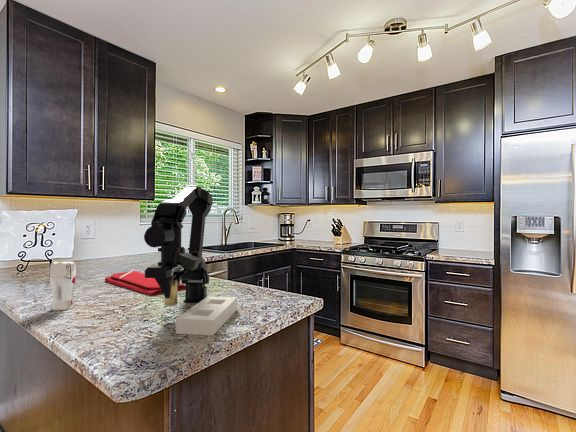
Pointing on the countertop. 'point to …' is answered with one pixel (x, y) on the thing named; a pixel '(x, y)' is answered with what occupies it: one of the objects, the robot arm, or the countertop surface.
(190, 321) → the block
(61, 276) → the white carton
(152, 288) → the dish drying mat
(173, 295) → the cylinder
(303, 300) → the countertop surface
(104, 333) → the countertop surface
